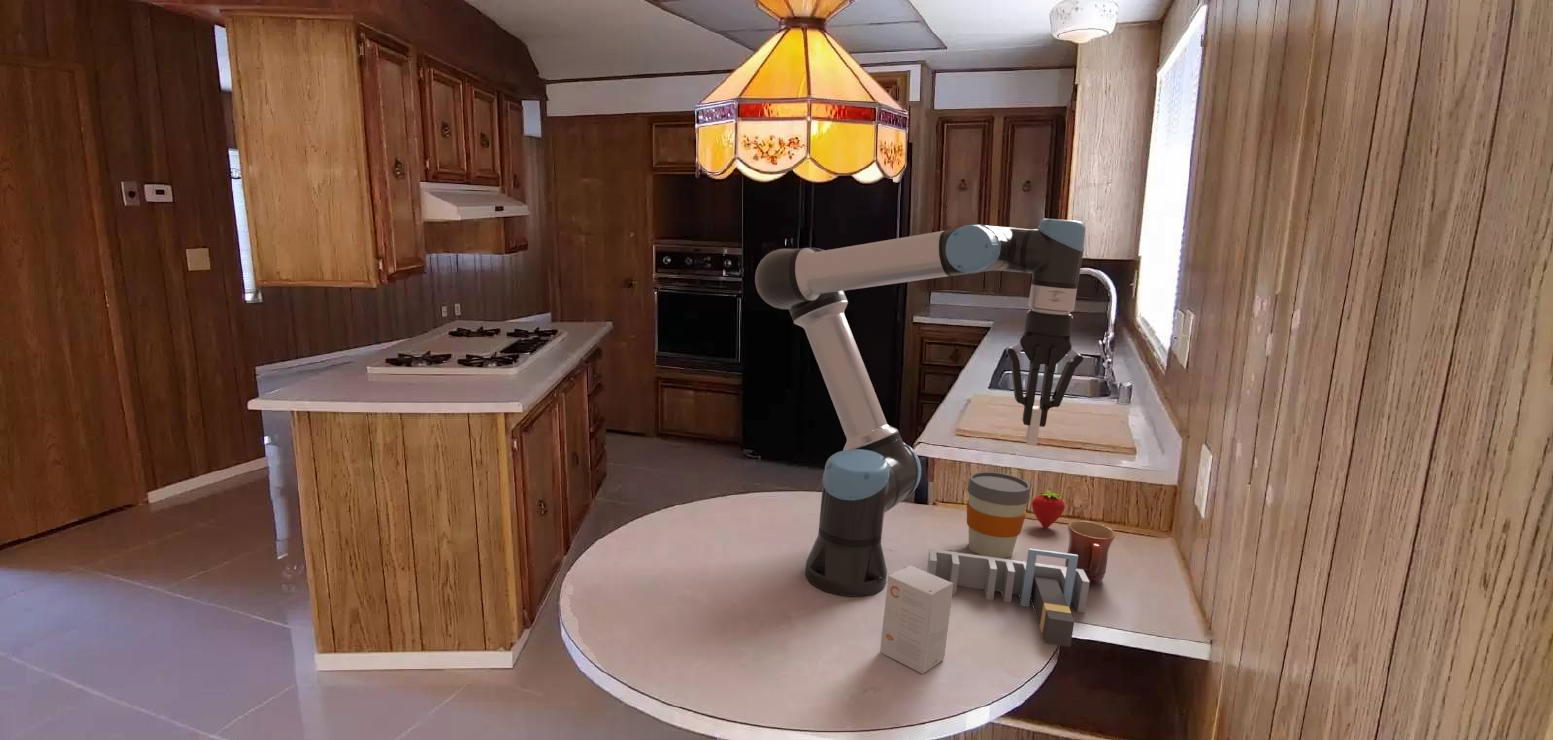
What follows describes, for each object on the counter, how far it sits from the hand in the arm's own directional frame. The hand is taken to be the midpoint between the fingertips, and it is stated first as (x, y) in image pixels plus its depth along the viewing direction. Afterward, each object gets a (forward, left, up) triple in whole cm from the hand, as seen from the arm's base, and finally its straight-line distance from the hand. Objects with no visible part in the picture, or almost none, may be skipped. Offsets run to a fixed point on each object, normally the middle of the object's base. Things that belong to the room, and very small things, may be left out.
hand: (1030, 443), depth 141 cm
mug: (+16, +11, -30) cm, 35 cm away
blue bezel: (+6, -3, -29) cm, 30 cm away
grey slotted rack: (-1, 0, -29) cm, 29 cm away
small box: (-18, -26, -30) cm, 43 cm away
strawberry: (+13, +38, -30) cm, 50 cm away
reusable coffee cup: (-1, +21, -30) cm, 36 cm away
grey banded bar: (+6, -8, -30) cm, 31 cm away
